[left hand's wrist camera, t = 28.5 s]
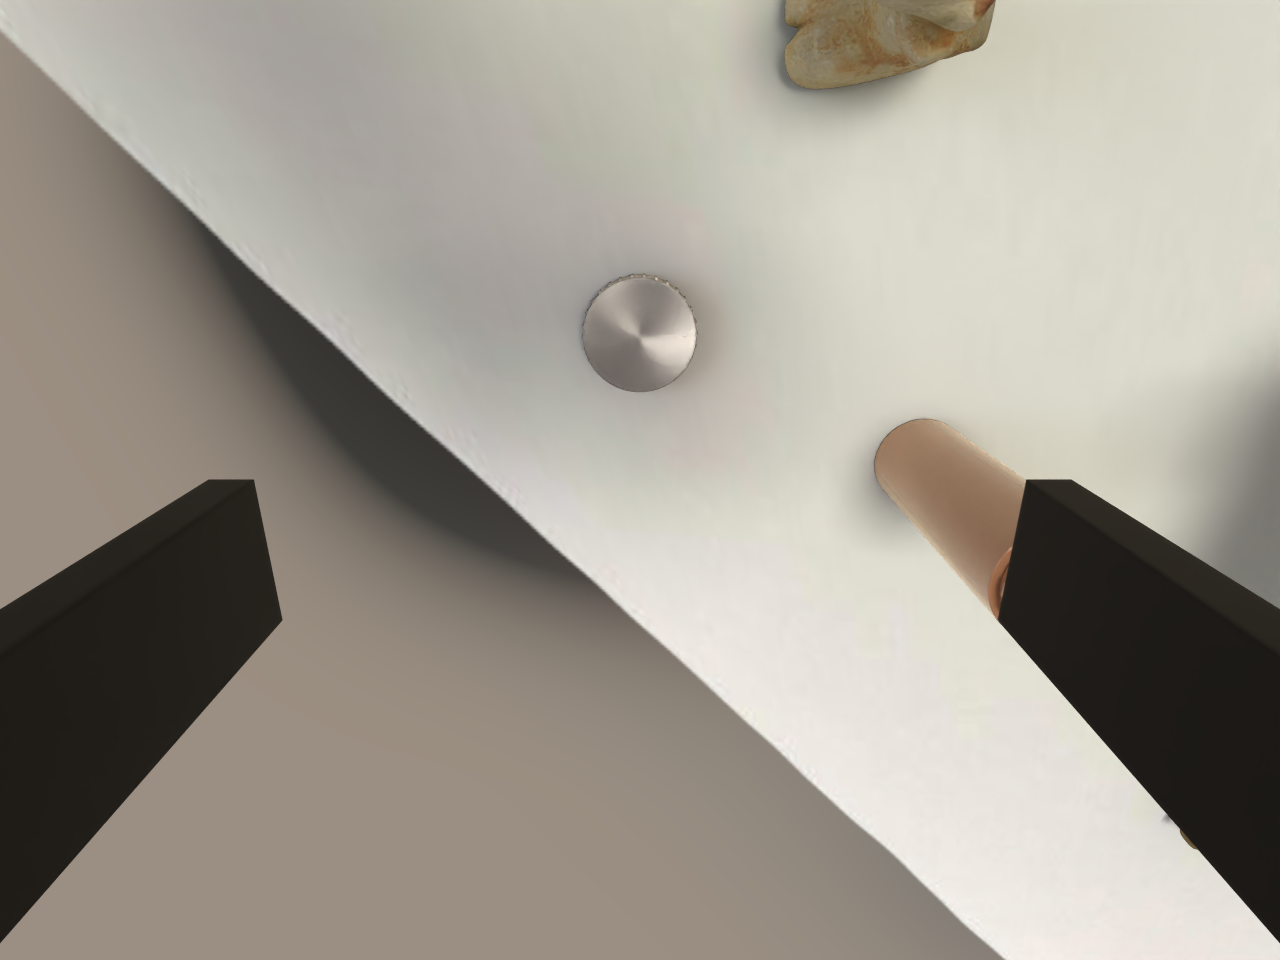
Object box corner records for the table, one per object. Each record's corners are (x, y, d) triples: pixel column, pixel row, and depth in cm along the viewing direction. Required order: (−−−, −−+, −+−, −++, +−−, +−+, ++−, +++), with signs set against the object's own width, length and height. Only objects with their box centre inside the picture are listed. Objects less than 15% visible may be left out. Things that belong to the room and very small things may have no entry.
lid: (593, 263, 36) (591, 265, 34) (706, 285, 36) (709, 288, 35) (575, 375, 38) (573, 382, 36) (683, 395, 38) (685, 402, 37)
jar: (925, 516, 41) (1080, 682, 26) (856, 475, 40) (977, 623, 26) (981, 446, 39) (1177, 581, 25) (911, 402, 38) (1072, 516, 24)
